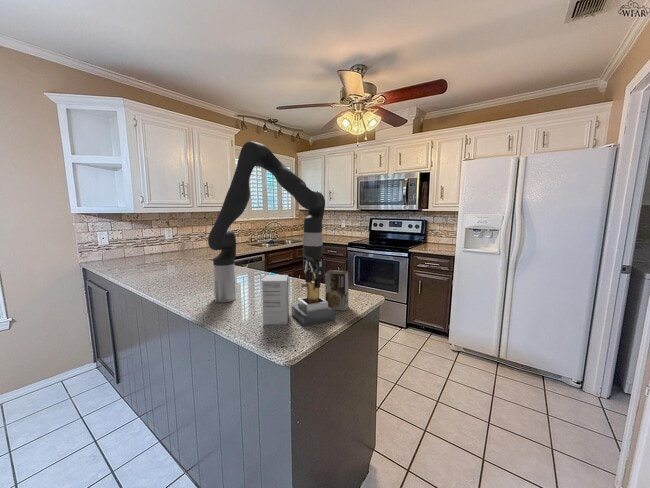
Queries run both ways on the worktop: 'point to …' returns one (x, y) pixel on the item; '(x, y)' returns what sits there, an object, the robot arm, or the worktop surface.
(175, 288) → the worktop surface
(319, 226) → the robot arm
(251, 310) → the worktop surface
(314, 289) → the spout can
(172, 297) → the worktop surface
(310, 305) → the grey square socket base
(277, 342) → the worktop surface
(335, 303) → the coffee box
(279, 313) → the supplement box
